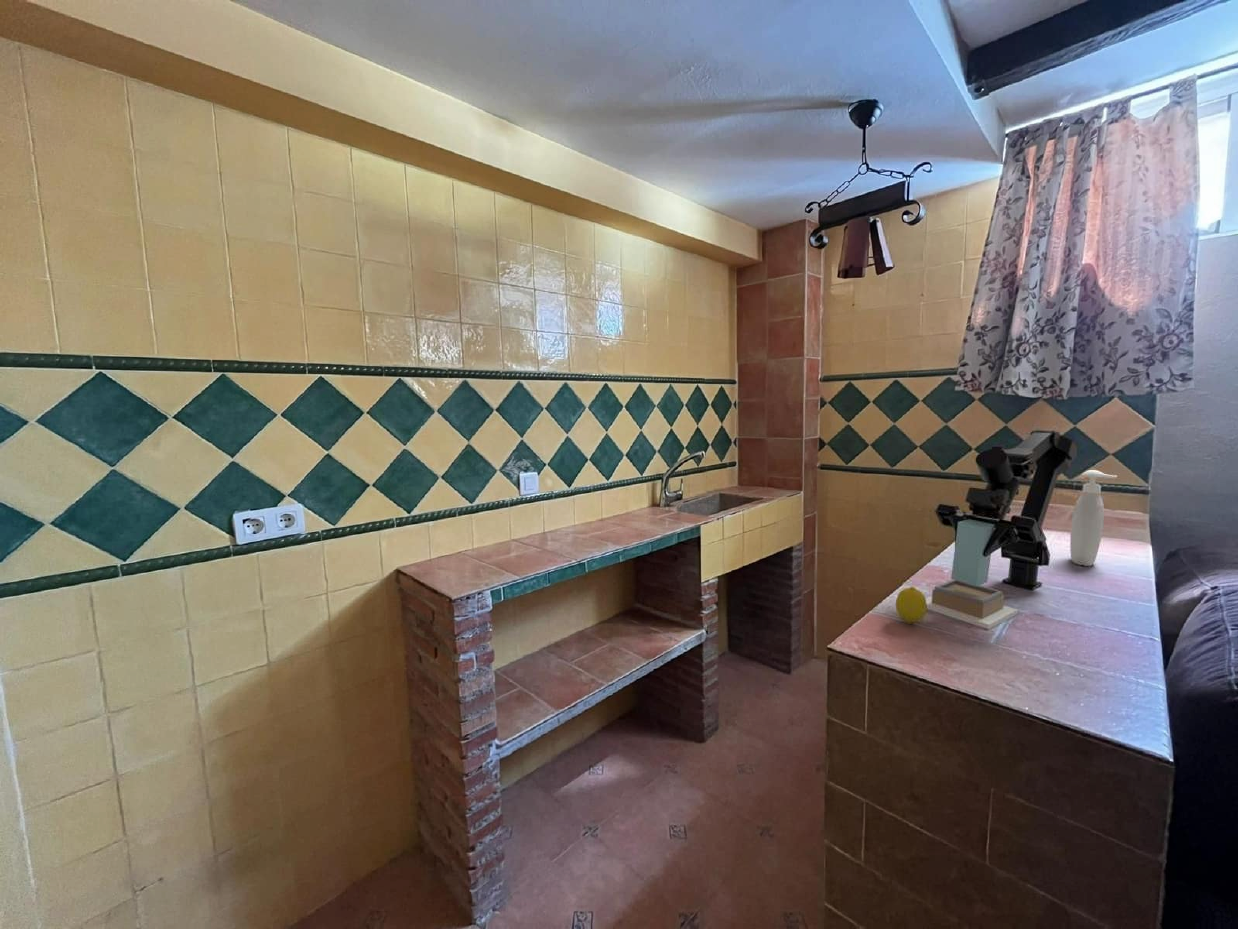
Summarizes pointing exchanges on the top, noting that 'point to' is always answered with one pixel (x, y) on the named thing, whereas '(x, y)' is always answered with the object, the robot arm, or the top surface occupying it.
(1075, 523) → the soap bottle
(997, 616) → the build base
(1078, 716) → the top surface
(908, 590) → the lemon
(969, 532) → the pillar
